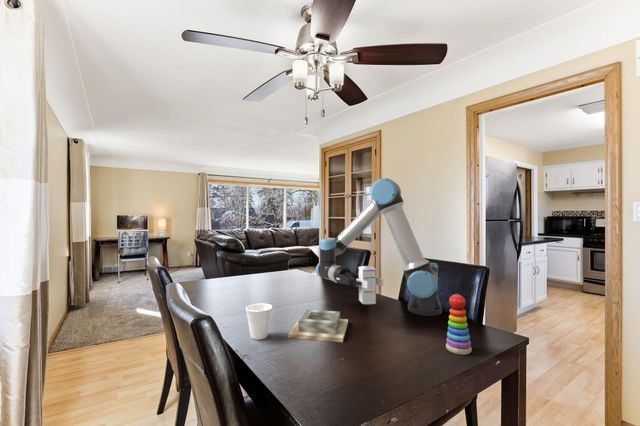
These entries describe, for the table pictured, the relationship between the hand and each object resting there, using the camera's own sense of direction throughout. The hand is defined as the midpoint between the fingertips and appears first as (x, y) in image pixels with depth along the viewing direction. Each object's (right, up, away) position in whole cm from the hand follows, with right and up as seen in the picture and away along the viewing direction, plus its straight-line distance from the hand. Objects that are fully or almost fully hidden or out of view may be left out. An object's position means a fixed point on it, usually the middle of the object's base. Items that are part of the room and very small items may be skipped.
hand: (375, 283), depth 124 cm
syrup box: (-3, -9, +4) cm, 10 cm away
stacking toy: (+24, -18, -19) cm, 36 cm away
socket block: (-22, -18, -2) cm, 28 cm away
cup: (-45, -18, -9) cm, 49 cm away
